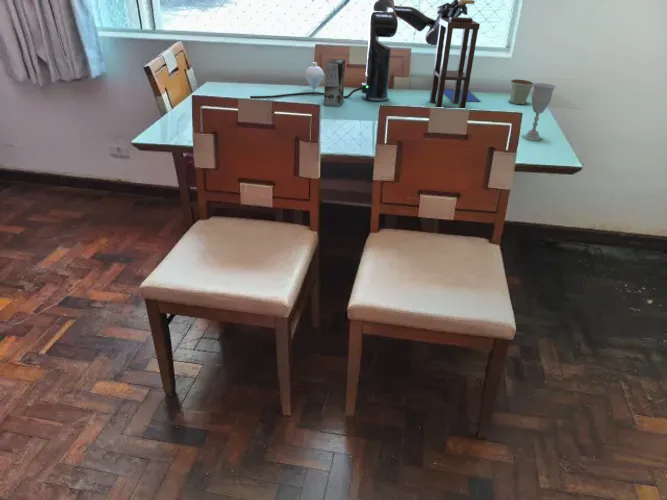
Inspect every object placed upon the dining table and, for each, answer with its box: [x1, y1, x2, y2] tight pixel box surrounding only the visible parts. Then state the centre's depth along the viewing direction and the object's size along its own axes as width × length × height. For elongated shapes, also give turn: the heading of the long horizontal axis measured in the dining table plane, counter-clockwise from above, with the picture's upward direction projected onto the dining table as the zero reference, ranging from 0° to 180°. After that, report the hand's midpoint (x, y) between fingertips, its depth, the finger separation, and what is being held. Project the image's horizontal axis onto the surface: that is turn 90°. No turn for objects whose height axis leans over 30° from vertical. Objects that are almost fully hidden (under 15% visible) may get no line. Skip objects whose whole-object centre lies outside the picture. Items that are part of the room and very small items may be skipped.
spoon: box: [457, 0, 476, 6], centre depth 220 cm, size 18×6×5 cm, turn 5°
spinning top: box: [304, 61, 325, 92], centre depth 231 cm, size 8×8×12 cm
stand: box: [429, 16, 481, 109], centre depth 217 cm, size 12×12×33 cm
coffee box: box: [323, 58, 346, 107], centre depth 217 cm, size 9×6×16 cm
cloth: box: [443, 89, 480, 103], centre depth 240 cm, size 12×18×1 cm, turn 5°
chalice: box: [524, 82, 556, 141], centre depth 189 cm, size 7×7×18 cm
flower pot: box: [509, 78, 535, 105], centre depth 232 cm, size 9×9×9 cm
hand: (459, 1), depth 223 cm, fingers closed on spoon, 1 cm apart
